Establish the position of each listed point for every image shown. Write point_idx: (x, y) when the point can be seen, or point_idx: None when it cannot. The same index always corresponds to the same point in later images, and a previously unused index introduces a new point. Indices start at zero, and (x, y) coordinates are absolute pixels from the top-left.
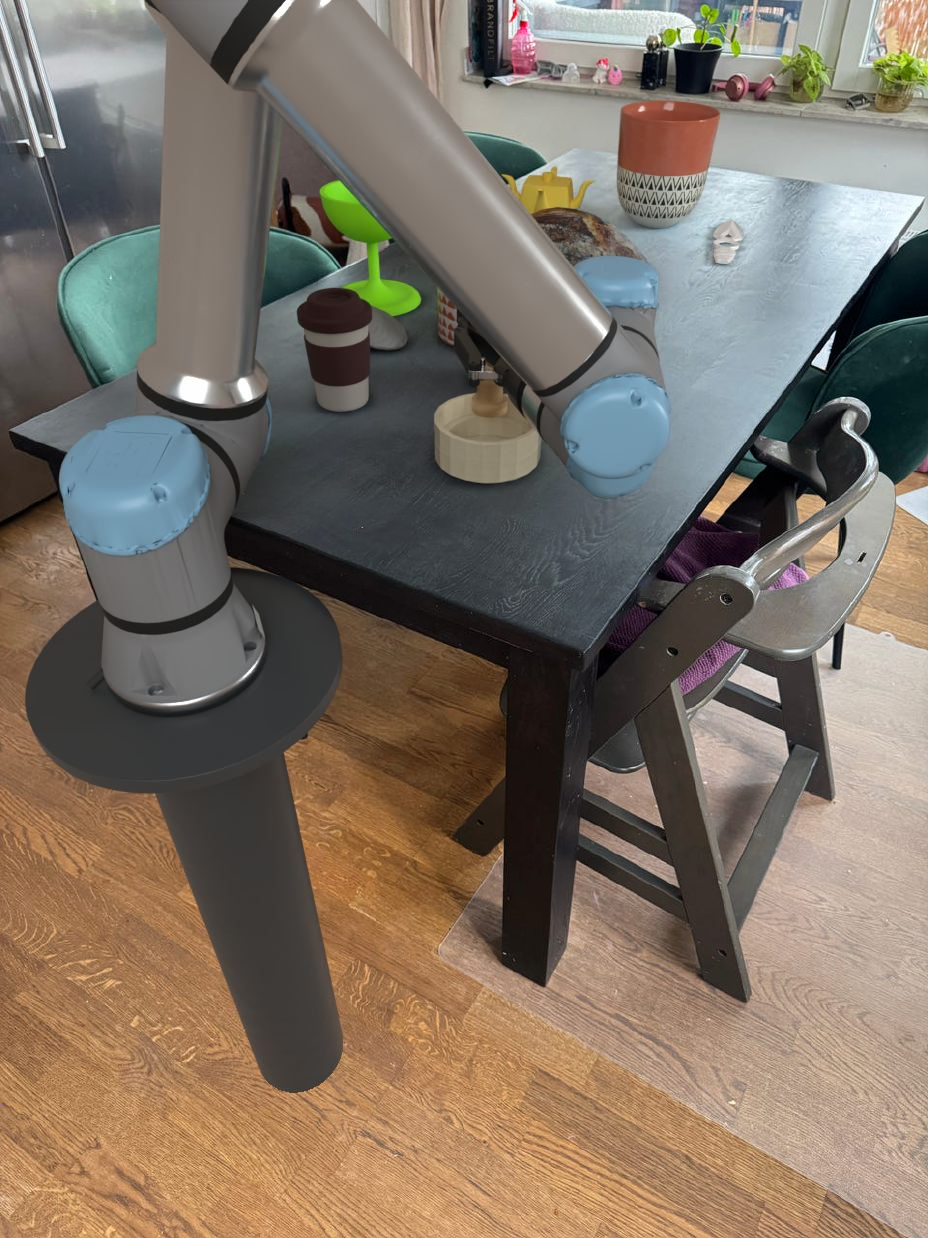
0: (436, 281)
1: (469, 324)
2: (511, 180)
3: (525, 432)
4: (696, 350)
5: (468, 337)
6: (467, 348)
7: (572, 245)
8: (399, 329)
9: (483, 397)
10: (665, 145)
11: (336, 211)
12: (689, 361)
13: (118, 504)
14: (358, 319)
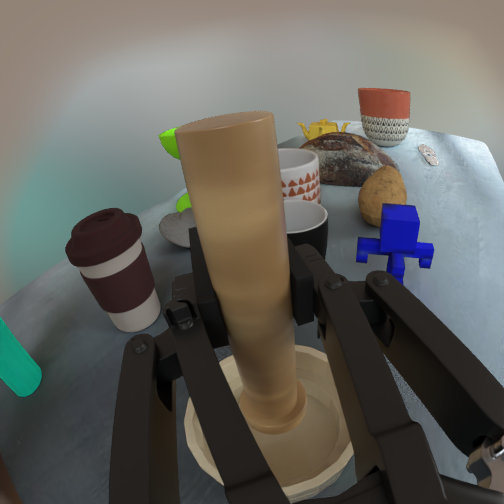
0: None
1: (175, 323)
2: (302, 125)
3: (335, 409)
4: (461, 231)
5: (144, 402)
6: (115, 481)
7: (349, 152)
8: None
9: (257, 411)
10: (387, 103)
11: (165, 143)
12: (463, 243)
13: None
14: (110, 247)
